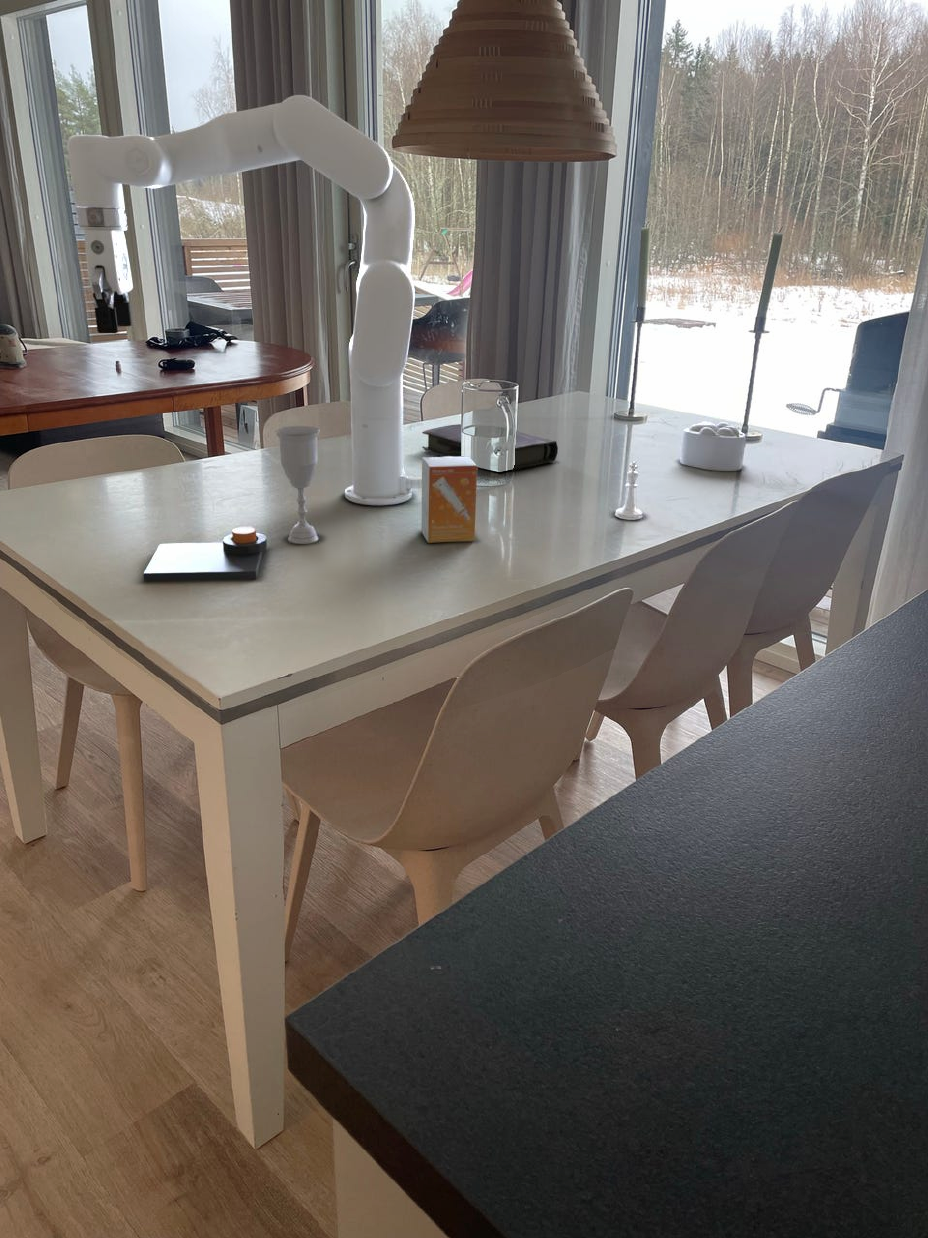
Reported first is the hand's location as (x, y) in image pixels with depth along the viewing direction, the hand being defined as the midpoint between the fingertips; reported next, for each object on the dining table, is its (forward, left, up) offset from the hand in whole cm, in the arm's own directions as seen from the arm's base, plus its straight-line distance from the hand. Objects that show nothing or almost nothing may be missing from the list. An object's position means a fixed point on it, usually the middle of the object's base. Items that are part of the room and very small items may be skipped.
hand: (115, 329), depth 158 cm
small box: (-55, +23, -31) cm, 67 cm away
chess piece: (-89, +13, -31) cm, 95 cm away
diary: (-69, -31, -31) cm, 82 cm away
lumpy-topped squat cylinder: (-118, -23, -31) cm, 124 cm away
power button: (-23, +31, -28) cm, 47 cm away
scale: (-17, +34, -30) cm, 49 cm away
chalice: (-31, +23, -31) cm, 49 cm away
